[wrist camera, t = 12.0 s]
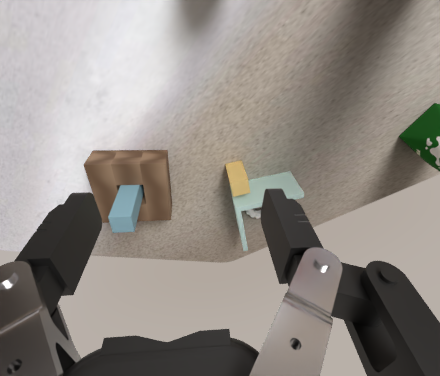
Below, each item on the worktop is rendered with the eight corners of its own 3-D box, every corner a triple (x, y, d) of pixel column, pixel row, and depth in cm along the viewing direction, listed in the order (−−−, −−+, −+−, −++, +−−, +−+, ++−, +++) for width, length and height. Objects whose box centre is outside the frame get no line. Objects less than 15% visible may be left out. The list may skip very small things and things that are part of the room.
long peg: (143, 170, 43) (130, 216, 33) (145, 183, 44) (134, 231, 35) (126, 170, 42) (108, 217, 33) (128, 184, 44) (112, 232, 34)
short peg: (241, 160, 44) (248, 178, 39) (243, 173, 45) (250, 192, 41) (225, 164, 44) (230, 183, 39) (228, 177, 46) (233, 196, 41)
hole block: (167, 150, 41) (165, 163, 37) (172, 204, 48) (170, 219, 44) (93, 150, 39) (83, 164, 36) (109, 206, 46) (102, 222, 43)
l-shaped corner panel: (237, 224, 54) (243, 251, 48) (228, 182, 47) (235, 207, 41) (289, 213, 54) (302, 238, 48) (288, 169, 47) (304, 192, 41)
